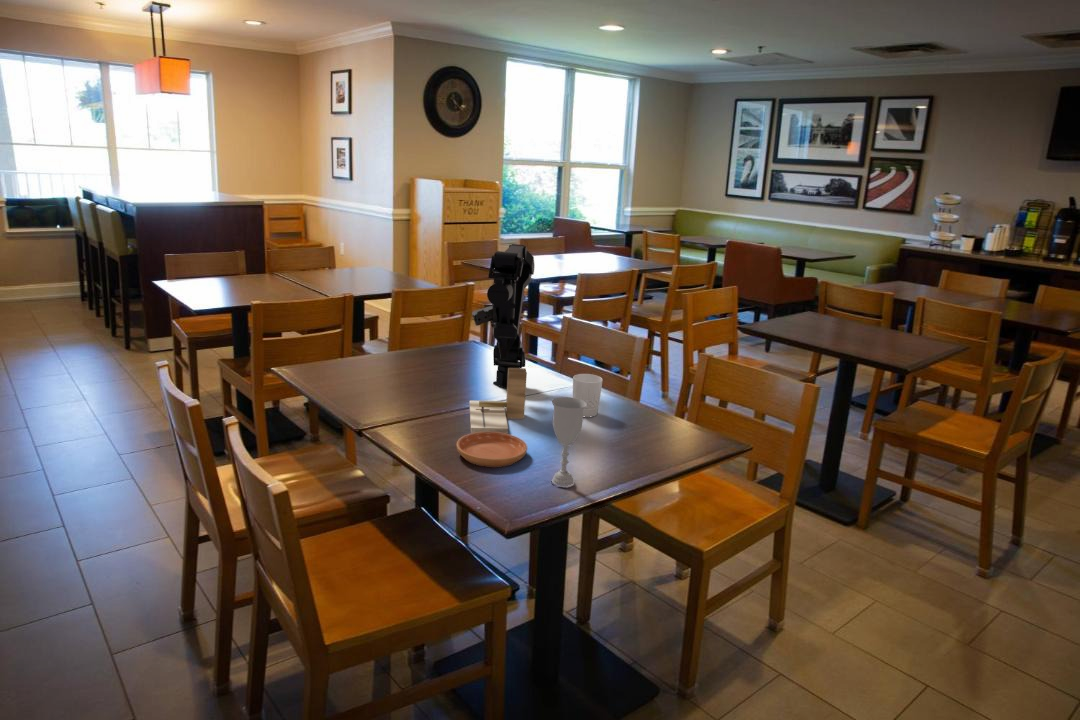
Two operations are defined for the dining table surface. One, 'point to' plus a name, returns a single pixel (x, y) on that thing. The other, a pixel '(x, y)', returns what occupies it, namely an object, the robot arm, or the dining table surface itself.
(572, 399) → the chalice
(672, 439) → the dining table surface
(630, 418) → the dining table surface
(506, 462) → the saucer
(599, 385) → the white cup
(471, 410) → the birch board
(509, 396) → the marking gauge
